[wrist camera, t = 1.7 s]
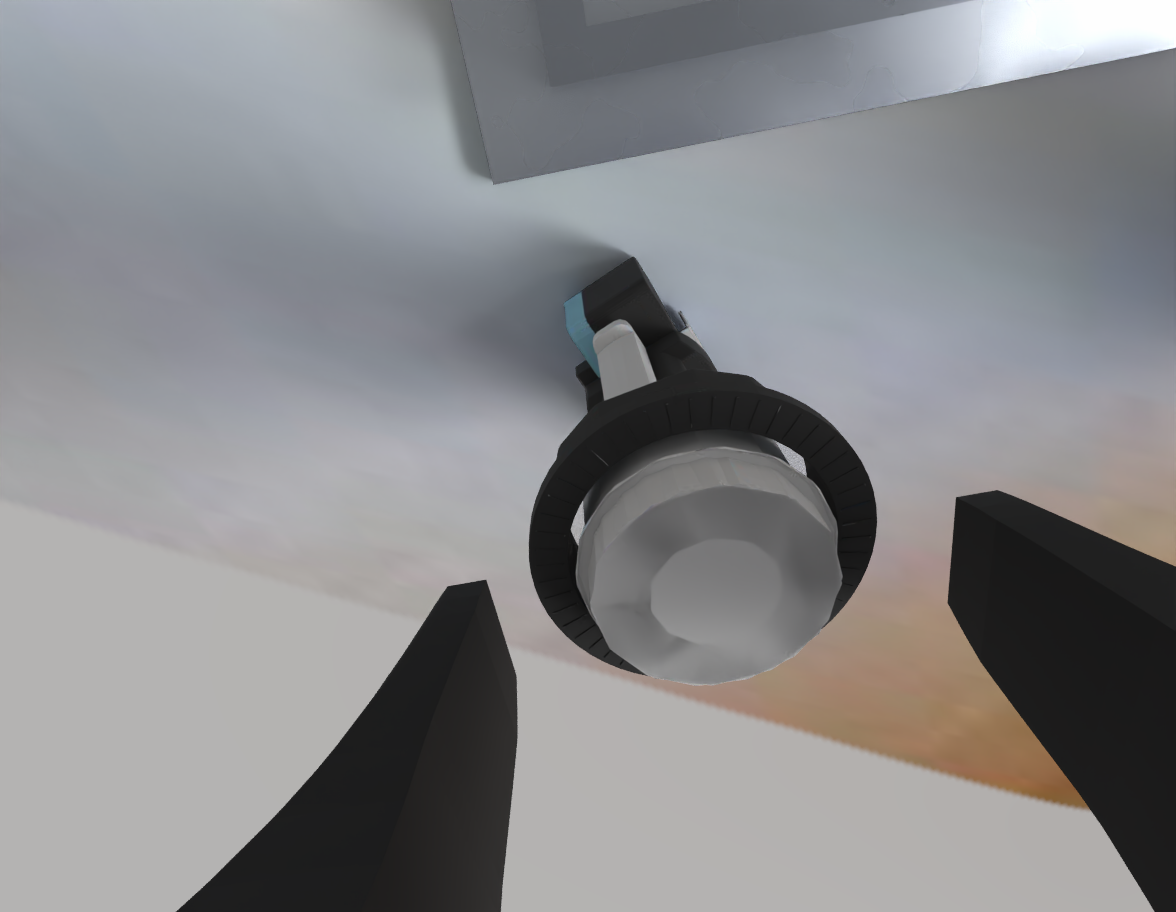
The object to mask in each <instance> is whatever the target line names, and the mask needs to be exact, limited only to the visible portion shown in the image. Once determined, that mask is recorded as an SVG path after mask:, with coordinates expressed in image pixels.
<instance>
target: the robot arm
mask: <svg viewBox="0 0 1176 912" xmlns="http://www.w3.org/2000/svg"><path fill="white" fill-rule="evenodd" d="M948 604H949V606H950V608H951V610H952V612H953V614H954V616H955V617H956V619H957V621H958V623H959V625H960V627H961V629H962V630H963V632H964V634H965V636H966V638H967V639H968V641H969V643H970V644H971V646H972V648H973V650H974V651H975V653H976V655H977V656H978V658H979V660H980V662H981V663H982V664H983V666H984V667H985V668H986V670H987V671H988V673H989V674H990V675H991V677H992V678H993V679H994V681H995V682H996V684H997V685H998V686H999V688H1000V689H1001V690H1002V692H1003V693H1004V694H1005V696H1006V697H1007V698H1008V700H1009V701H1010V702H1011V704H1012V705H1013V707H1014V708H1015V709H1016V711H1017V712H1018V713H1019V714H1020V716H1021V717H1022V718H1023V720H1024V721H1025V722H1026V724H1027V725H1028V726H1029V728H1030V729H1031V730H1032V732H1033V733H1034V734H1035V736H1036V737H1037V738H1038V740H1039V741H1040V742H1041V744H1042V745H1043V746H1044V748H1045V749H1046V750H1047V752H1048V753H1049V754H1050V756H1051V757H1052V758H1053V760H1054V761H1055V762H1056V764H1057V765H1058V766H1059V768H1060V769H1061V770H1062V771H1063V773H1064V774H1065V775H1066V777H1067V778H1068V779H1069V781H1070V782H1071V783H1072V785H1073V786H1074V787H1075V789H1076V790H1077V791H1078V793H1079V794H1080V795H1081V797H1082V798H1083V800H1084V801H1085V803H1086V804H1087V805H1088V807H1089V808H1090V810H1091V811H1092V813H1093V814H1094V815H1095V817H1096V818H1097V820H1098V821H1099V822H1100V824H1101V825H1102V827H1103V828H1104V830H1105V832H1106V833H1107V835H1108V836H1109V838H1110V840H1111V841H1112V843H1113V844H1114V846H1115V848H1116V849H1117V851H1118V853H1119V854H1120V856H1121V857H1122V859H1123V861H1124V862H1125V864H1126V866H1127V867H1128V869H1129V870H1130V872H1131V874H1132V875H1133V877H1134V879H1135V880H1136V882H1137V883H1138V885H1139V887H1140V888H1141V890H1142V892H1143V893H1144V895H1145V896H1146V898H1147V900H1148V901H1149V903H1150V905H1151V906H1152V908H1153V910H1154V911H1155V912H1176V567H1175V566H1173V565H1171V564H1168V563H1166V562H1163V561H1161V560H1159V559H1156V558H1154V557H1152V556H1149V555H1147V554H1144V553H1142V552H1140V551H1138V550H1135V549H1133V548H1131V547H1128V546H1126V545H1124V544H1121V543H1119V542H1117V541H1115V540H1112V539H1110V538H1108V537H1106V536H1103V535H1101V534H1099V533H1097V532H1094V531H1092V530H1090V529H1088V528H1085V527H1083V526H1081V525H1079V524H1076V523H1074V522H1072V521H1070V520H1067V519H1065V518H1063V517H1061V516H1058V515H1056V514H1054V513H1052V512H1049V511H1047V510H1045V509H1043V508H1040V507H1038V506H1036V505H1033V504H1031V503H1029V502H1026V501H1024V500H1022V499H1019V498H1017V497H1014V496H1012V495H1009V494H1006V493H1004V492H1001V491H998V490H996V491H990V492H984V493H978V494H973V495H967V496H961V497H956V505H955V518H954V530H953V543H952V555H951V568H950V580H949V593H948ZM516 748H517V680H516V673H515V670H514V667H513V663H512V660H511V657H510V654H509V651H508V647H507V644H506V641H505V638H504V635H503V632H502V628H501V625H500V622H499V619H498V616H497V613H496V609H495V606H494V603H493V600H492V597H491V593H490V590H489V587H488V584H487V581H486V580H482V581H476V582H470V583H465V584H459V585H453V586H448V587H447V588H446V590H445V591H444V592H443V594H442V595H441V597H440V598H439V600H438V601H437V603H436V604H435V606H434V607H433V609H432V611H431V612H430V614H429V615H428V617H427V618H426V620H425V621H424V623H423V625H422V626H421V628H420V629H419V631H418V632H417V634H416V635H415V637H414V638H413V640H412V642H411V643H410V645H409V646H408V648H407V649H406V651H405V652H404V654H403V655H402V657H401V658H400V660H399V661H398V663H397V664H396V665H395V667H394V668H393V670H392V671H391V673H390V674H389V675H388V677H387V678H386V680H385V681H384V683H383V684H382V686H381V687H380V689H379V690H378V691H377V693H376V694H375V696H374V697H373V698H372V700H371V701H370V702H369V704H368V705H367V707H366V708H365V709H364V711H363V712H362V713H361V714H360V716H359V717H358V718H357V720H356V721H355V722H354V724H353V725H352V726H351V728H350V729H349V730H348V731H347V733H346V734H345V735H344V737H343V738H342V739H341V741H340V742H339V743H338V745H337V746H336V747H335V749H334V750H333V751H332V752H331V753H330V754H329V756H328V757H327V758H326V759H325V761H324V762H323V763H322V764H321V765H320V766H319V768H318V769H317V770H316V771H315V772H314V774H313V775H312V776H311V777H310V778H309V779H308V780H307V781H306V783H305V784H304V785H303V786H302V787H301V788H300V789H299V790H298V792H297V793H296V794H295V795H294V796H293V797H292V798H291V799H290V800H289V801H288V803H287V804H286V805H285V806H284V807H283V808H282V809H281V810H280V811H279V812H278V813H277V815H275V817H274V818H273V819H272V820H271V821H270V822H269V823H268V824H267V825H266V826H265V827H264V828H263V829H262V830H261V831H260V832H259V833H258V834H257V835H256V836H255V837H254V838H253V839H252V840H251V841H250V842H249V843H248V844H247V845H246V846H245V847H244V848H243V849H241V850H240V851H239V853H238V854H236V855H235V856H234V857H233V858H232V859H231V860H230V861H229V862H228V863H227V864H226V865H225V866H224V868H223V869H221V870H220V871H219V872H218V873H217V874H216V875H215V876H214V877H213V878H212V879H211V880H210V881H209V882H208V883H207V884H206V885H205V886H204V887H203V888H202V889H201V890H200V891H198V892H197V893H196V894H195V895H194V896H193V897H192V898H191V899H190V900H188V901H187V902H186V903H185V904H184V905H183V906H182V907H181V908H180V909H179V910H177V911H176V912H501V899H502V885H503V874H504V865H505V856H506V845H507V837H508V827H509V818H510V808H511V797H512V789H513V779H514V768H515V758H516Z"/></svg>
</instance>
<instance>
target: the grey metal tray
mask: <svg viewBox="0 0 1176 912" xmlns="http://www.w3.org/2000/svg"><path fill="white" fill-rule="evenodd" d="M451 4H452V8H453V12H454V17H455V21H456V25H457V30H458V34H459V38H460V43H461V47H462V51H463V56H464V60H465V64H466V69H467V73H468V77H469V82H470V86H471V90H472V95H473V99H474V103H475V108H476V112H477V116H478V121H479V125H480V129H481V134H482V138H483V142H484V146H485V151H486V155H487V159H488V164H489V168H490V172H491V177H492V181H493V185H494V184H499V183H504V182H509V181H514V180H519V179H524V178H529V177H534V176H539V175H544V174H549V173H554V172H559V171H564V170H569V169H574V168H579V167H584V166H589V165H594V164H599V163H604V162H609V161H614V160H619V159H624V158H629V157H634V156H639V155H644V154H649V153H654V152H659V151H664V150H669V149H674V148H679V147H684V146H689V145H694V144H699V143H704V142H709V141H714V140H719V139H724V138H729V137H734V136H739V135H744V134H749V133H754V132H759V131H764V130H769V129H774V128H779V127H784V126H789V125H794V124H799V123H804V122H809V121H814V120H819V119H824V118H829V117H834V116H839V115H844V114H849V113H854V112H859V111H864V110H869V109H873V108H878V107H883V106H888V105H893V104H898V103H903V102H908V101H913V100H918V99H923V98H928V97H933V96H938V95H943V94H948V93H953V92H958V91H963V90H968V89H973V88H978V87H983V86H988V85H993V84H998V83H1003V82H1008V81H1013V80H1018V79H1023V78H1028V77H1033V76H1038V75H1043V74H1048V73H1053V72H1058V71H1063V70H1068V69H1073V68H1078V67H1083V66H1088V65H1093V64H1098V63H1103V62H1108V61H1113V60H1118V59H1123V58H1128V57H1133V56H1138V55H1143V54H1148V53H1153V52H1158V51H1163V50H1168V49H1173V48H1176V0H451Z"/></svg>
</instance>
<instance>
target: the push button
mask: <svg viewBox="0 0 1176 912" xmlns="http://www.w3.org/2000/svg"><path fill="white" fill-rule="evenodd" d="M564 308H565V316H566V328H567V331H568V333H569V335H570V337H571V338H572V340H573V341H574V343H575V344H576V346H577V347H578V349H579V350H580V352H581V353H582V354H583V356H584V357H585V359H586V361H584V362H583V363H581V364H580V365H578V366H577V367H576V377H577V378H578V379H579V381H580V382H581V384H582V385H583V386H584V388H585V389H586V390H585V392H586V400H587V410H588V414H587V415H586V416H585V417H584V418H583V419H582V420H581V422H580V423H579V424H578V425H577V426H576V427H575V429H574V430H573V431H572V432H571V433H570V434H569V436H568V437H567V438H566V439H565V440H564V441H563V443H562V444H561V445H560V447H559V449H558V454H557V459H556V461H555V462H554V464H553V465H552V467H551V468H550V469H549V471H548V473H547V475H546V477H545V479H544V481H543V483H542V485H541V487H540V490H539V492H538V495H537V497H536V500H535V504H534V508H533V512H532V516H531V524H530V534H529V562H530V569H531V575H532V579H533V582H534V586H535V589H536V591H537V594H538V596H539V599H540V601H541V603H542V605H543V606H544V608H545V610H546V612H547V613H548V615H549V616H550V617H551V619H552V620H553V621H554V623H555V624H556V625H557V627H558V628H559V629H560V630H561V631H562V632H563V633H564V634H565V635H566V636H567V637H568V638H569V639H570V640H572V641H573V642H574V643H575V644H576V645H578V646H579V647H580V648H582V649H583V650H585V651H586V652H588V653H589V654H591V655H592V656H594V657H596V658H598V659H600V660H602V661H604V662H606V663H608V664H610V665H613V666H615V667H618V668H620V669H624V670H627V671H630V672H633V673H637V674H642V675H646V676H652V677H653V678H655V679H664V680H671V681H675V682H680V683H685V684H689V685H694V686H699V685H717V684H721V683H724V682H729V681H737V680H745V679H749V678H751V677H753V676H755V675H757V674H759V673H761V672H765V671H769V670H772V669H774V668H775V667H776V666H777V665H779V664H780V663H782V662H784V661H786V660H788V659H790V658H792V657H794V656H795V655H796V654H797V653H798V652H799V651H800V650H801V649H802V648H803V647H804V646H805V645H806V644H807V643H808V642H809V641H810V640H811V639H813V638H814V637H815V636H817V635H818V634H819V633H820V631H821V629H822V628H823V627H825V626H826V625H827V624H828V623H829V622H830V621H831V620H832V619H833V618H834V617H835V616H836V615H837V614H838V613H839V611H840V610H841V609H842V608H843V607H844V606H845V604H846V603H847V602H848V600H849V599H850V598H851V596H852V595H853V593H854V592H855V590H856V588H857V587H858V585H859V583H860V582H861V580H862V578H863V575H864V573H865V571H866V569H867V567H868V564H869V561H870V558H871V555H872V552H873V547H874V543H875V538H876V527H877V512H876V502H875V497H874V491H873V488H872V485H871V482H870V479H869V476H868V474H867V472H866V470H865V468H864V466H863V464H862V462H861V460H860V459H859V457H858V456H857V454H856V453H855V451H854V450H853V448H852V447H851V446H850V445H849V443H848V442H847V441H846V440H845V438H844V437H843V436H842V435H841V434H840V433H839V432H838V430H837V429H836V428H835V427H834V426H833V425H832V424H831V423H830V422H829V421H827V420H826V419H825V418H824V417H823V416H822V415H821V414H819V413H818V412H816V411H815V410H813V409H812V408H810V407H809V406H807V405H806V404H804V403H802V402H800V401H798V400H796V399H794V398H792V397H790V396H788V395H785V394H783V393H780V392H777V391H775V390H772V389H768V388H765V387H764V386H762V385H761V384H760V383H759V382H757V381H756V380H755V379H754V378H752V377H749V376H747V375H740V374H732V373H724V372H717V370H716V368H715V366H714V365H713V363H712V361H711V359H710V358H709V356H708V355H707V353H706V352H705V350H704V349H703V347H702V345H701V343H700V342H699V340H698V338H697V337H696V335H695V333H694V332H693V330H692V328H691V327H690V325H689V323H688V322H687V320H686V319H685V317H684V315H683V314H682V312H681V311H680V312H678V313H679V315H680V317H681V319H682V320H683V322H684V324H685V326H686V328H685V329H683V330H682V331H680V332H679V331H678V330H677V329H676V327H675V326H674V324H673V322H672V321H671V319H670V317H669V315H668V314H667V312H666V310H665V308H664V306H663V304H662V302H661V301H660V299H659V297H658V295H657V293H656V291H655V289H654V288H653V286H652V284H651V282H650V281H649V279H648V277H647V276H646V274H645V273H644V271H643V269H642V268H641V266H640V265H639V263H638V261H637V260H636V258H635V257H632V258H630V259H629V260H627V261H626V262H624V263H623V264H621V265H620V266H618V267H617V268H615V269H614V270H612V271H611V272H609V273H608V274H606V275H605V276H603V277H602V278H600V279H599V280H597V281H596V282H594V283H593V284H591V285H590V286H588V287H587V288H585V289H584V290H582V291H581V292H580V293H578V294H577V295H575V296H574V297H572V298H571V299H569V300H568V301H566V302H565V303H564ZM775 441H777V442H779V443H781V444H783V445H785V446H787V447H789V448H790V449H792V450H793V451H795V452H796V453H798V454H799V455H801V456H802V457H803V458H804V462H805V466H806V473H807V477H806V476H805V475H803V474H802V473H800V472H799V471H797V470H796V469H794V468H793V467H792V466H790V465H789V463H788V461H787V460H786V458H785V457H784V455H783V453H782V452H781V450H780V448H779V447H778V445H777V444H776V442H775ZM582 501H583V507H584V522H585V527H584V528H583V531H582V534H581V536H580V539H579V546H578V545H577V543H576V541H575V539H574V537H573V535H572V533H571V526H572V523H573V519H574V517H575V515H576V513H577V510H578V508H579V506H580V504H581V503H582Z"/></svg>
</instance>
